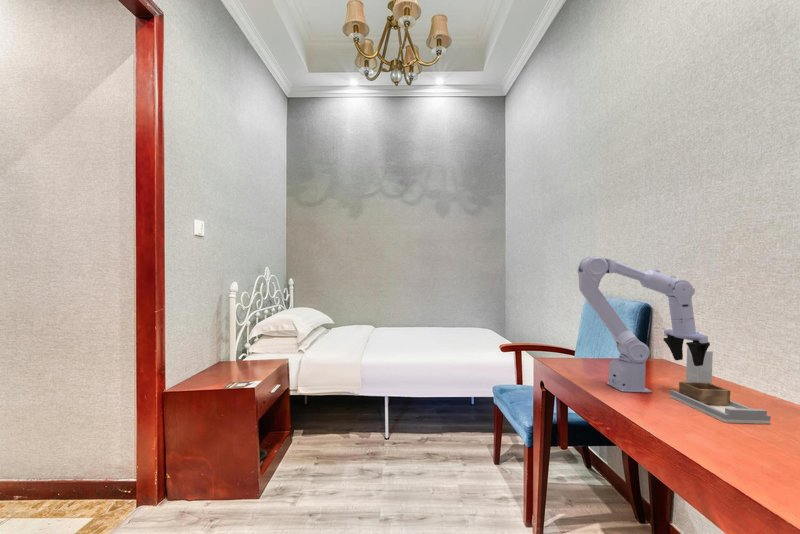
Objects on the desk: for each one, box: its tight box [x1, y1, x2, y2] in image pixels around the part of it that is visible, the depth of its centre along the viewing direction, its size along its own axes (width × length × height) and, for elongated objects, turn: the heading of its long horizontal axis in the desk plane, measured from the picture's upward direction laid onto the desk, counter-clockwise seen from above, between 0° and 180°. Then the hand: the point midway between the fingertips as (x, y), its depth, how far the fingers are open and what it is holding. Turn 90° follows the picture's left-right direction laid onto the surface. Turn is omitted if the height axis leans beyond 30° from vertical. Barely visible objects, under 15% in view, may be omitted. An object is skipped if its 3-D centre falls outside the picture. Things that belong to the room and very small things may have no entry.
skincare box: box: [685, 346, 714, 384], centre depth 123 cm, size 6×4×12 cm
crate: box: [678, 381, 731, 405], centre depth 105 cm, size 9×7×4 cm
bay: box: [669, 389, 771, 425], centre depth 101 cm, size 12×18×3 cm, turn 2°
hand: (688, 362), depth 113 cm, fingers open, 7 cm apart
